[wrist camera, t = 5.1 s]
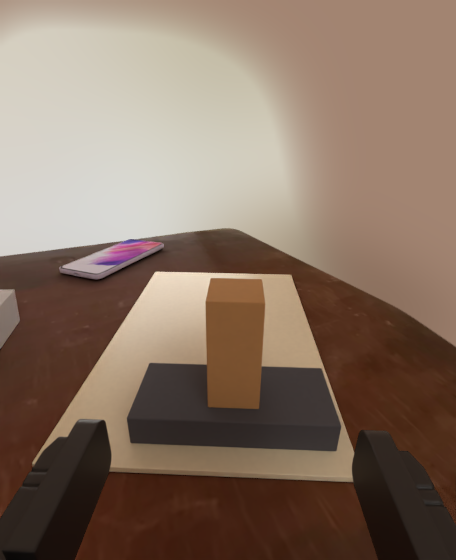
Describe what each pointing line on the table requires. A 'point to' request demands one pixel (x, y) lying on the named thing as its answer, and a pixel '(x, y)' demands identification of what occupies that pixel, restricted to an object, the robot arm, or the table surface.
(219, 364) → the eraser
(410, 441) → the table surface
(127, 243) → the smartphone
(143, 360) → the board
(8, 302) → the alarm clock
